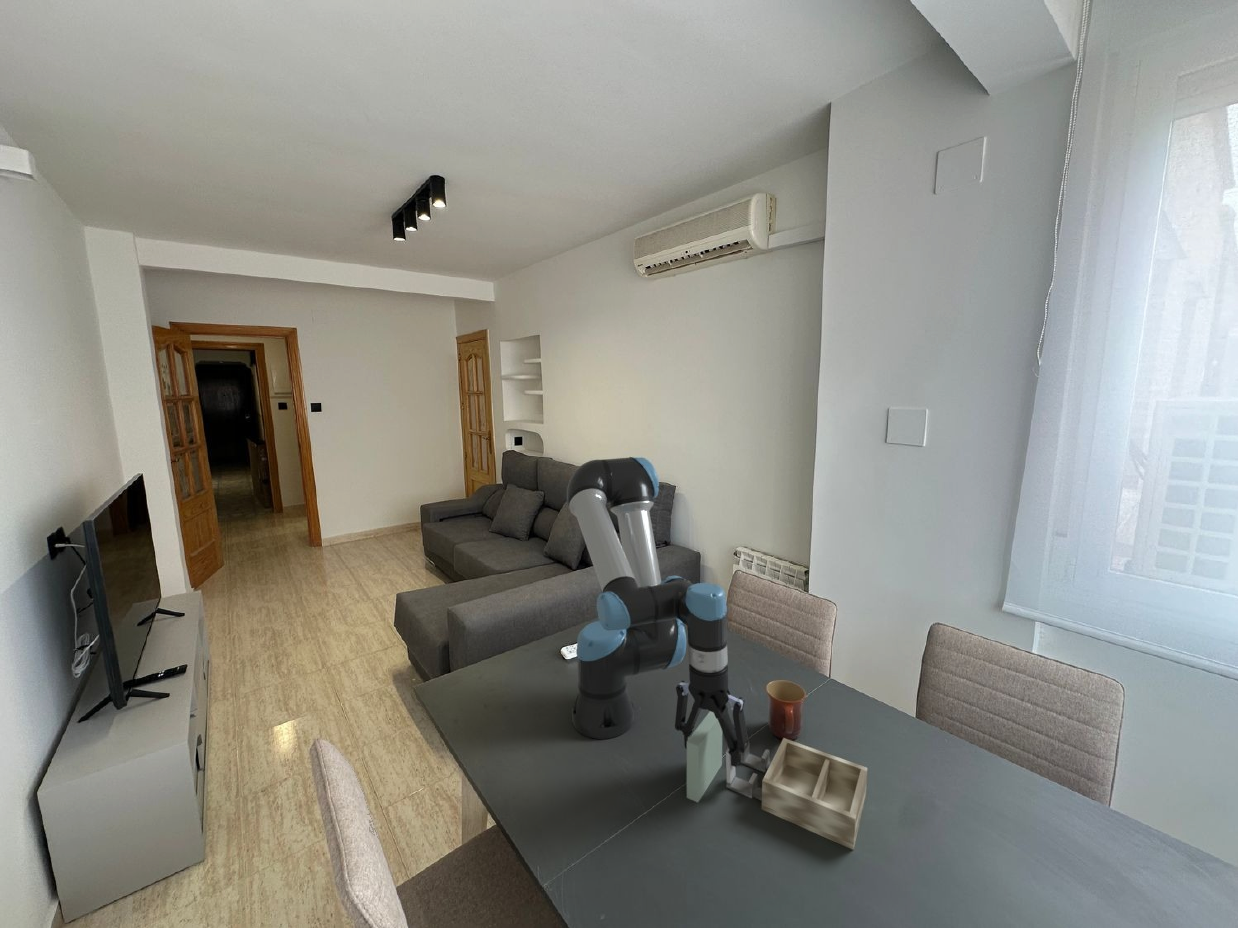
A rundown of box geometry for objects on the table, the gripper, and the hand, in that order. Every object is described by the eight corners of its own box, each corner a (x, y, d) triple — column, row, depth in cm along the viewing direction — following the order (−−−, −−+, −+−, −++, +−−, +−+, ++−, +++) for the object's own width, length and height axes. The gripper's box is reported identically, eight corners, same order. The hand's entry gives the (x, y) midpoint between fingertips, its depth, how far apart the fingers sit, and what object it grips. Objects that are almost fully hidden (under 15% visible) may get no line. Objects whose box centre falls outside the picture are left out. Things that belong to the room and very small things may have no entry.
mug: (763, 717, 123) (764, 678, 121) (801, 721, 121) (802, 681, 119) (767, 751, 111) (768, 708, 109) (809, 756, 109) (811, 713, 108)
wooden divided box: (723, 792, 100) (723, 764, 99) (747, 750, 112) (748, 725, 111) (853, 849, 87) (855, 818, 86) (865, 795, 99) (867, 767, 98)
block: (683, 796, 99) (683, 740, 98) (708, 758, 109) (709, 707, 107) (697, 802, 98) (698, 746, 96) (721, 764, 108) (722, 712, 106)
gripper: (653, 659, 102) (658, 764, 105) (752, 686, 91) (755, 803, 93) (671, 644, 108) (675, 743, 111) (765, 667, 97) (767, 777, 99)
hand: (711, 770), depth 102 cm, fingers open, 7 cm apart
